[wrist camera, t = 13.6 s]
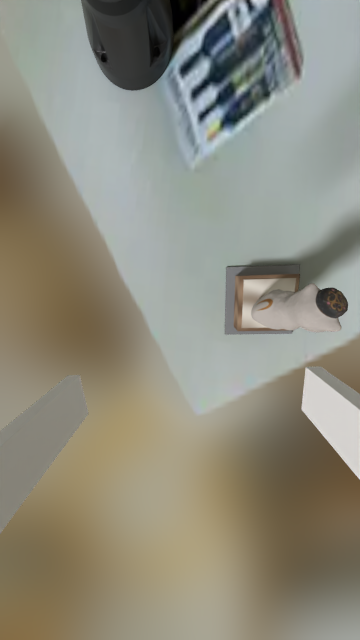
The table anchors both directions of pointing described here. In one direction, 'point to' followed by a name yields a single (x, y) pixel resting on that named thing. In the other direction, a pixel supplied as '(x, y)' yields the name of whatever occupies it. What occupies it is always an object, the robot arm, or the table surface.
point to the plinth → (258, 297)
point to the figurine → (301, 309)
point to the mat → (230, 291)
